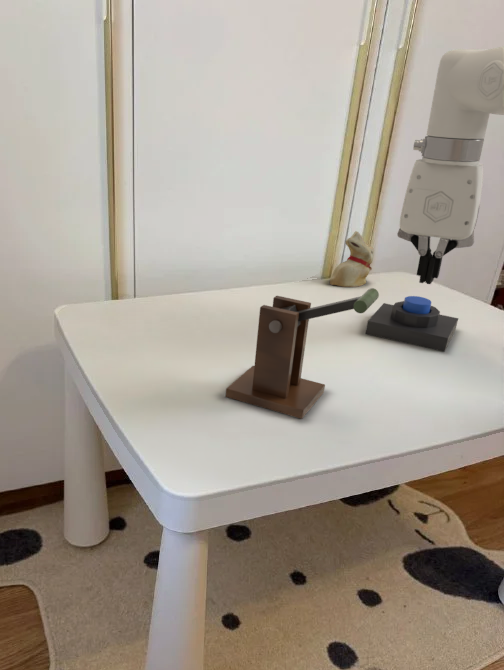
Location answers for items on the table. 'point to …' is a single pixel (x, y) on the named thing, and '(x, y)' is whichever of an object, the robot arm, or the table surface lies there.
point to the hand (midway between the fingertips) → (426, 281)
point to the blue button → (417, 305)
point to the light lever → (338, 306)
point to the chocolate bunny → (354, 263)
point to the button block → (412, 326)
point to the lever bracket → (279, 363)
